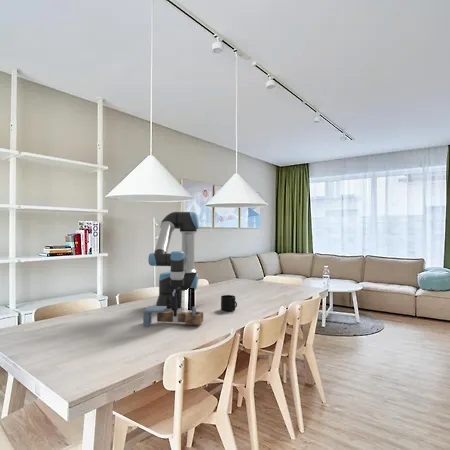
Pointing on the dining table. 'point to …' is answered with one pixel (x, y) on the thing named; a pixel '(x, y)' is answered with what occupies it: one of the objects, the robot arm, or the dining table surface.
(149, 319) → the keeper
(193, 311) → the pintle
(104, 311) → the dining table surface
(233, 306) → the mug
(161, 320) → the link
